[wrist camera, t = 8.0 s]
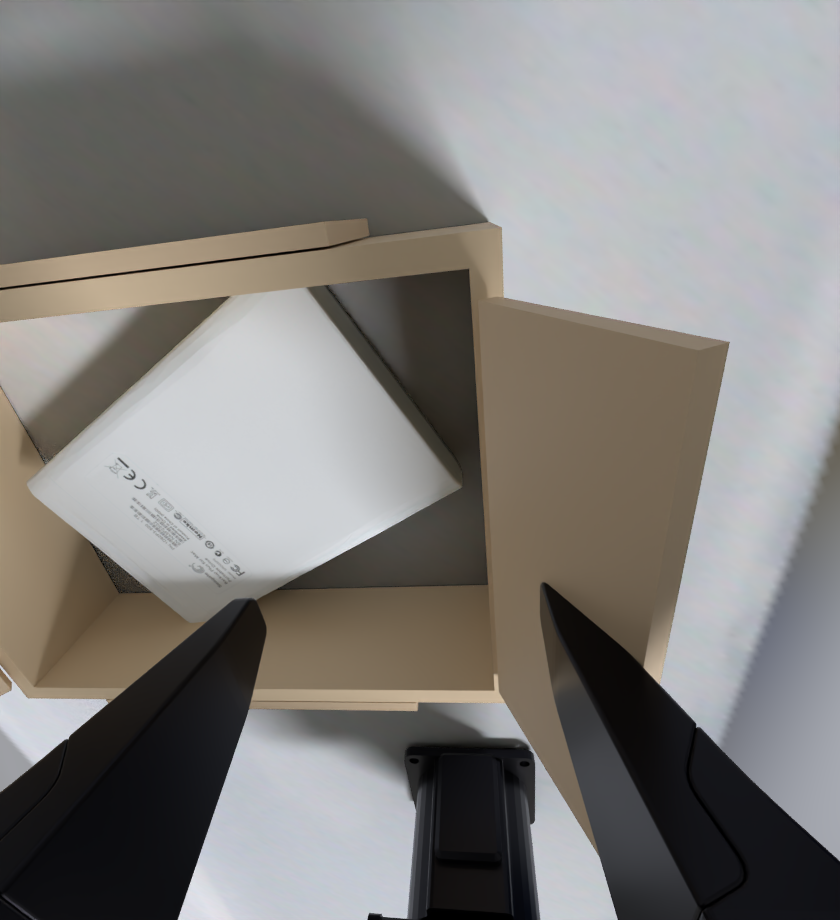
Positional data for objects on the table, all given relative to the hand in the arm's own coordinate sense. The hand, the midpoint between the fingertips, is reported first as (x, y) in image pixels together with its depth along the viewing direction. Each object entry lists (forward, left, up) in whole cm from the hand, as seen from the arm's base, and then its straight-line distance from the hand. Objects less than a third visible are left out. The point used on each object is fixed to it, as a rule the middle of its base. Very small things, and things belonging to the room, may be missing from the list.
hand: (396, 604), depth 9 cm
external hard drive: (0, +6, -7) cm, 9 cm away
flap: (0, -3, 0) cm, 3 cm away
